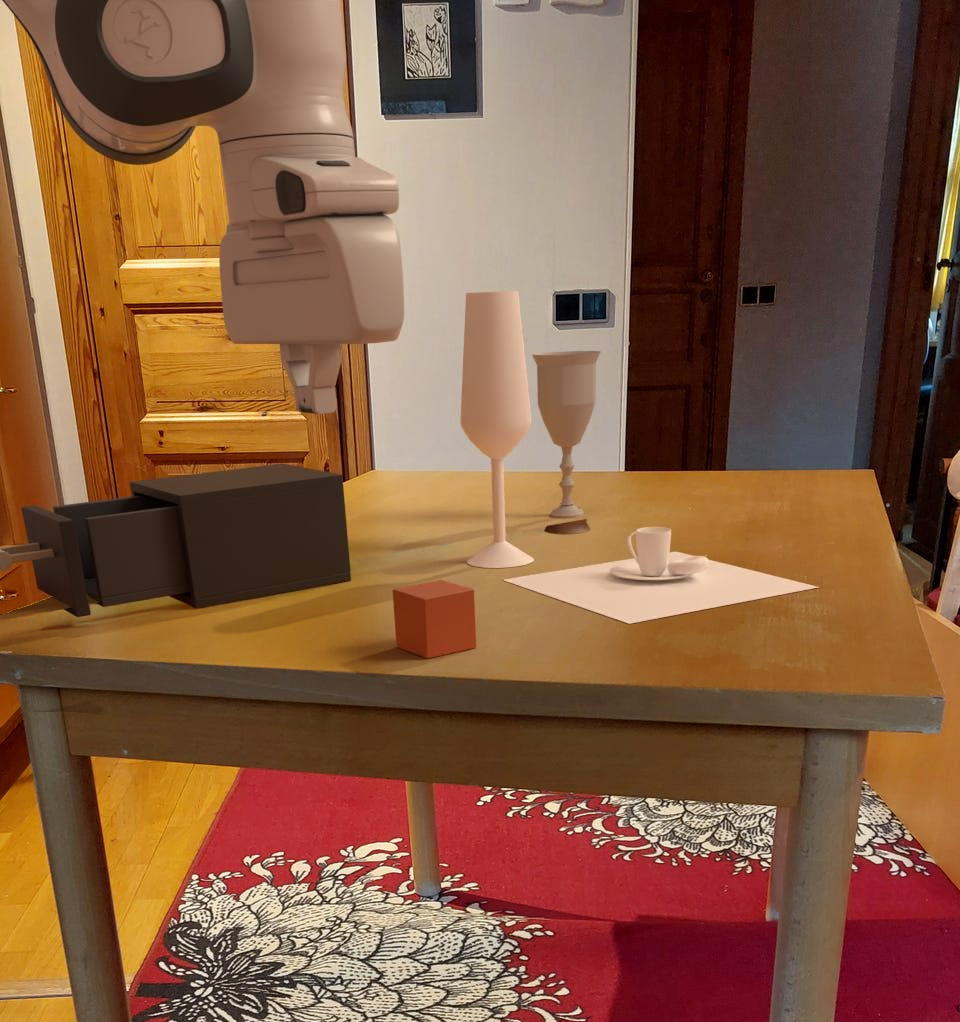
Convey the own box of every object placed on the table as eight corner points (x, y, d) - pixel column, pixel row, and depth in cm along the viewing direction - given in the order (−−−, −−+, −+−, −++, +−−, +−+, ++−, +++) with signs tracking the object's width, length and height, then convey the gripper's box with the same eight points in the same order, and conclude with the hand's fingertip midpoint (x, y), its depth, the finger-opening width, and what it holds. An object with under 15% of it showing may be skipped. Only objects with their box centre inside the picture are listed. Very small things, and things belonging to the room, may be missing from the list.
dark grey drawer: (16, 628, 95) (-5, 530, 91) (-18, 605, 103) (-39, 514, 99) (237, 589, 105) (226, 499, 101) (190, 570, 113) (178, 487, 109)
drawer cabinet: (196, 608, 102) (179, 495, 98) (146, 586, 111) (129, 481, 107) (351, 580, 110) (342, 474, 106) (293, 561, 119) (282, 463, 115)
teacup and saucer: (721, 578, 105) (723, 531, 103) (649, 591, 101) (650, 543, 100) (662, 562, 112) (663, 518, 110) (592, 573, 108) (592, 529, 107)
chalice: (580, 521, 133) (580, 350, 126) (611, 530, 128) (613, 351, 120) (523, 528, 131) (520, 354, 123) (552, 538, 125) (550, 355, 117)
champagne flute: (541, 554, 118) (537, 290, 107) (523, 568, 112) (517, 290, 101) (478, 552, 119) (468, 293, 109) (457, 566, 114) (444, 294, 103)
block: (427, 659, 85) (423, 599, 83) (396, 646, 89) (392, 588, 87) (476, 647, 88) (474, 589, 86) (444, 636, 91) (441, 579, 89)
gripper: (186, 207, 84) (216, 411, 90) (324, 178, 69) (348, 424, 75) (265, 206, 88) (288, 402, 94) (413, 177, 72) (430, 414, 78)
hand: (316, 412), depth 84 cm, fingers closed
